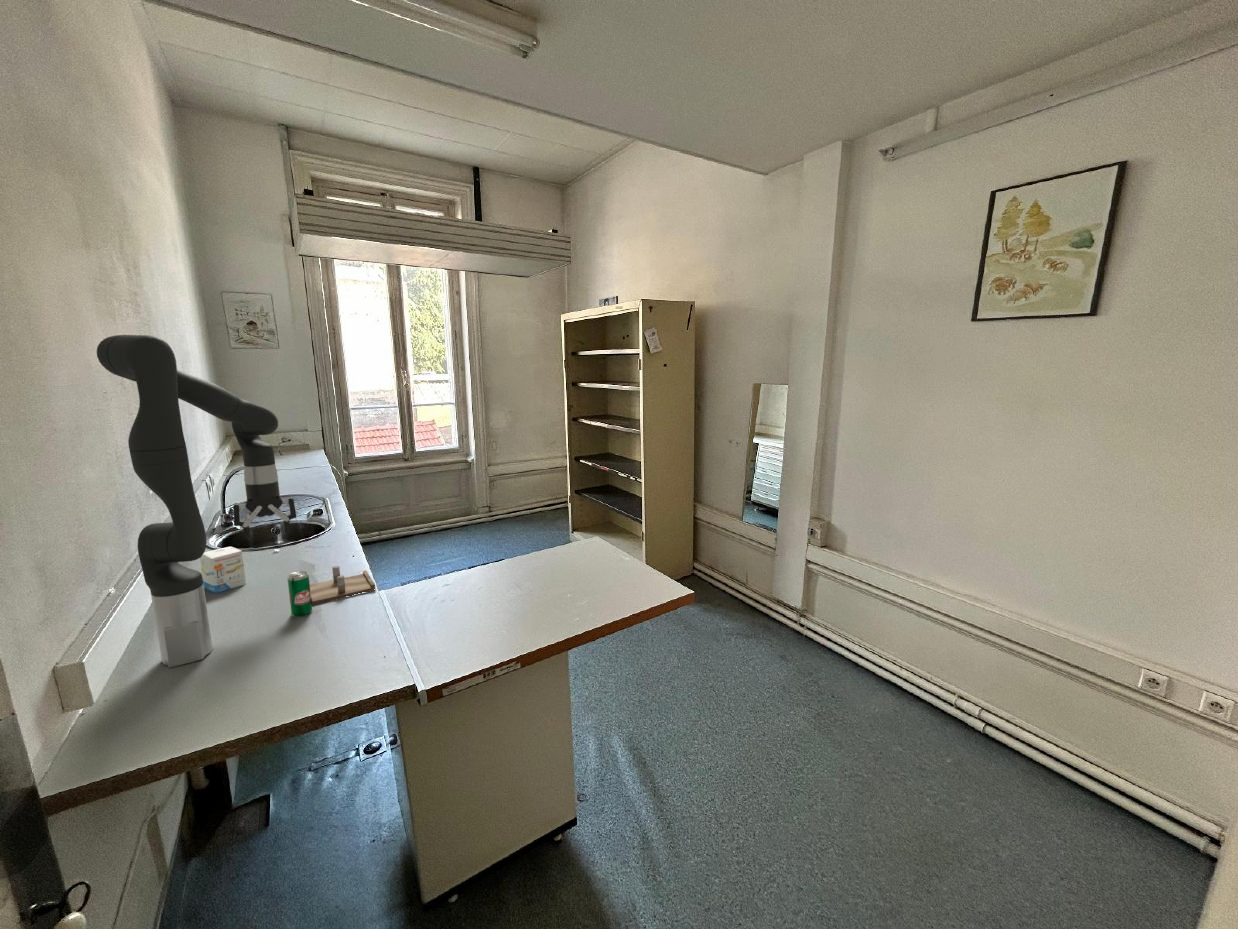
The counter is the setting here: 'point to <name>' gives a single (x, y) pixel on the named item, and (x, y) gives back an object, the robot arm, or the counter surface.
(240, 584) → the ink box
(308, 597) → the soda can
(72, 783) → the counter surface
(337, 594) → the tray
